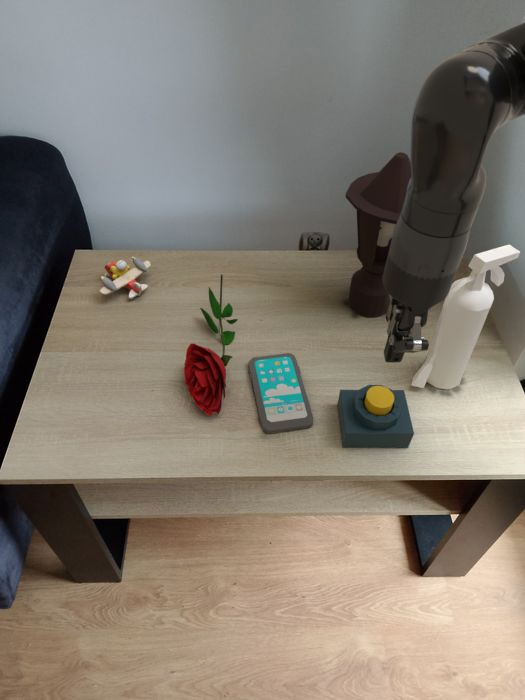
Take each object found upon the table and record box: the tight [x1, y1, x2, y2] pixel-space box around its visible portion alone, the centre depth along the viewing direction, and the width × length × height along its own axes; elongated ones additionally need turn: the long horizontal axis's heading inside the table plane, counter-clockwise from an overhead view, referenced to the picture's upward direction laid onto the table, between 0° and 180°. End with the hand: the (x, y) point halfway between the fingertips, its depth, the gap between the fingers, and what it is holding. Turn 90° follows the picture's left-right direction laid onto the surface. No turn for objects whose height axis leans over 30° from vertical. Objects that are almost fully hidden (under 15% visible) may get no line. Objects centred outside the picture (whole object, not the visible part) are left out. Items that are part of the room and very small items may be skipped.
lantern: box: [345, 151, 411, 319], centre depth 87 cm, size 15×15×30 cm
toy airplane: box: [99, 256, 151, 300], centre depth 98 cm, size 9×9×6 cm
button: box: [364, 385, 394, 416], centre depth 75 cm, size 4×4×2 cm
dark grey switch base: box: [336, 384, 415, 449], centre depth 77 cm, size 10×8×6 cm
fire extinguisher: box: [411, 244, 521, 391], centre depth 77 cm, size 7×12×25 cm, turn 116°
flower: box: [183, 274, 238, 417], centre depth 87 cm, size 9×10×30 cm
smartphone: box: [248, 352, 314, 434], centre depth 83 cm, size 9×1×15 cm
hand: (391, 358), depth 68 cm, fingers closed
